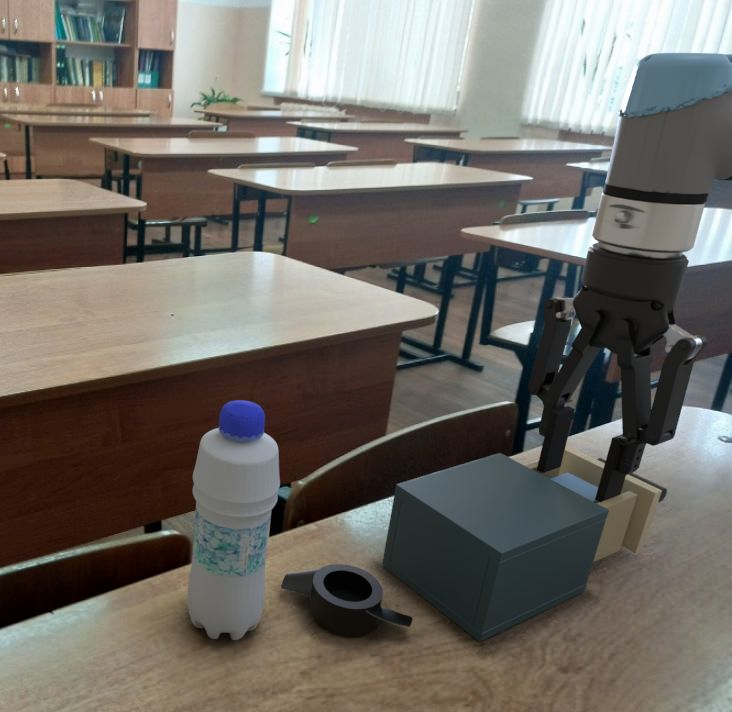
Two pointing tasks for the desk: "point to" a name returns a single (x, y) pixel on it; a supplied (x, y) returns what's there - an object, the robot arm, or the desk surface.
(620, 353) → the robot arm
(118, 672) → the desk surface
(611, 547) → the drawer
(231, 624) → the bottle
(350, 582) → the black winged ring
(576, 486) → the soap block
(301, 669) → the desk surface
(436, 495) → the cabinet
